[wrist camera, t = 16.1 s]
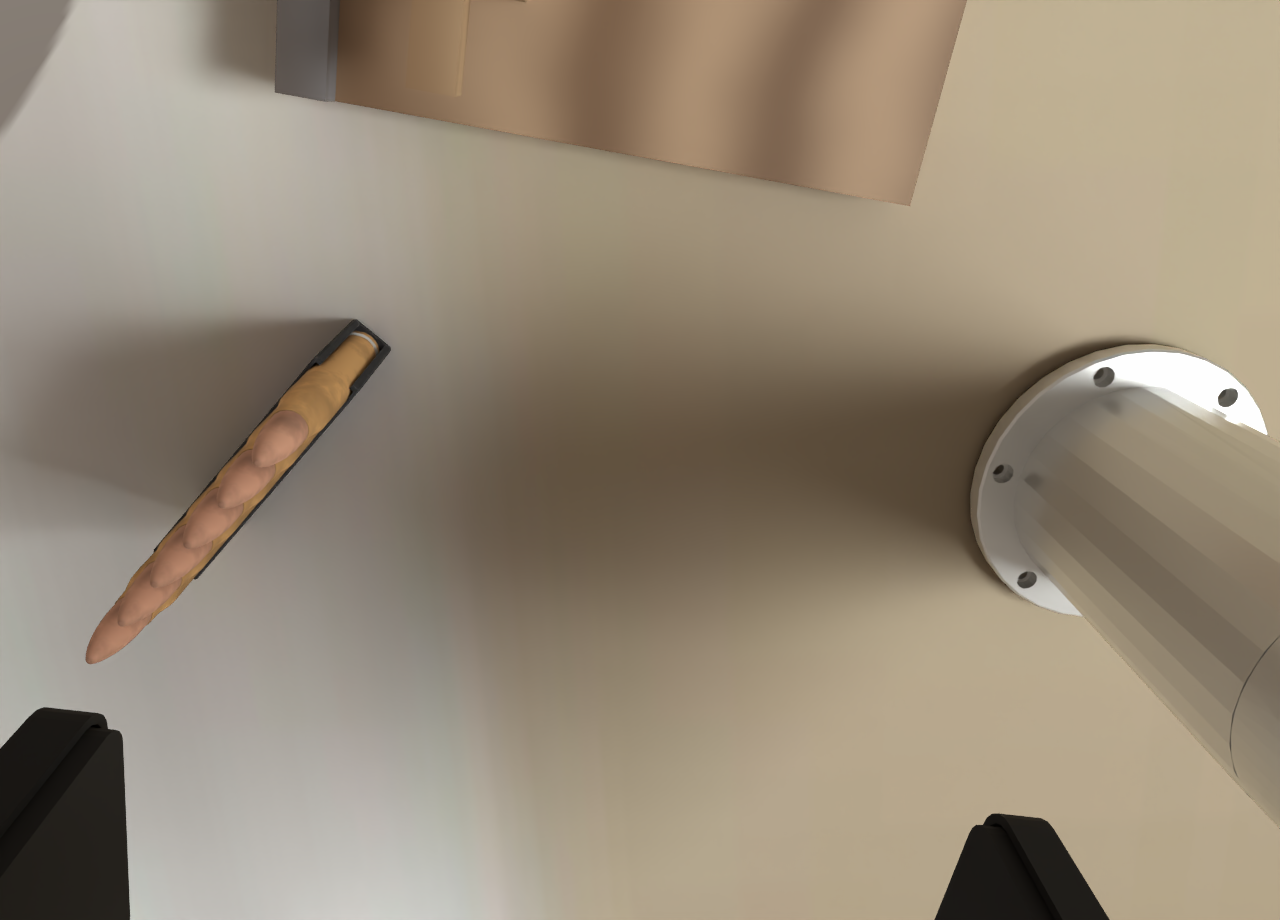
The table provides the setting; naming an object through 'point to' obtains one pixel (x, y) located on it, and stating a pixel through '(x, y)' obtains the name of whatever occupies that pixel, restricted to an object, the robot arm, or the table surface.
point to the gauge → (438, 46)
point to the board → (663, 79)
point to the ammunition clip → (242, 484)
